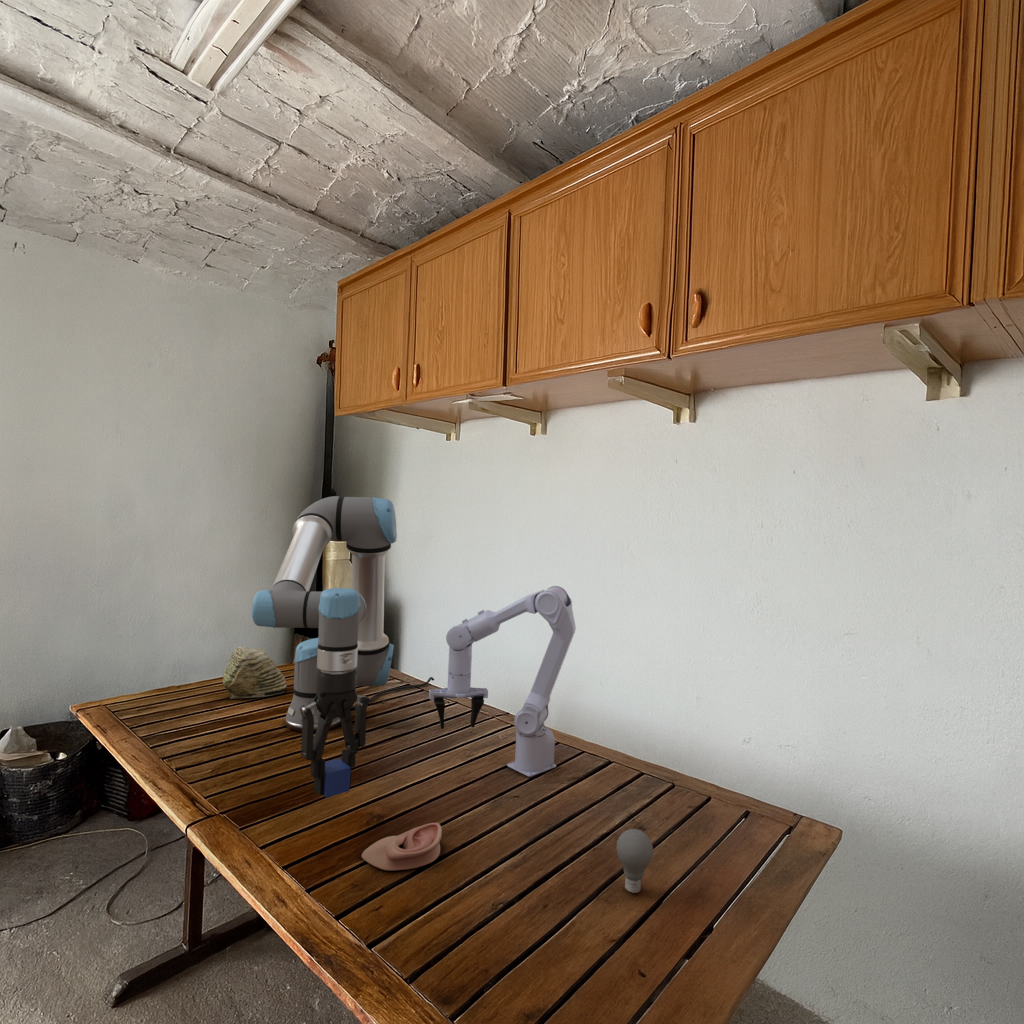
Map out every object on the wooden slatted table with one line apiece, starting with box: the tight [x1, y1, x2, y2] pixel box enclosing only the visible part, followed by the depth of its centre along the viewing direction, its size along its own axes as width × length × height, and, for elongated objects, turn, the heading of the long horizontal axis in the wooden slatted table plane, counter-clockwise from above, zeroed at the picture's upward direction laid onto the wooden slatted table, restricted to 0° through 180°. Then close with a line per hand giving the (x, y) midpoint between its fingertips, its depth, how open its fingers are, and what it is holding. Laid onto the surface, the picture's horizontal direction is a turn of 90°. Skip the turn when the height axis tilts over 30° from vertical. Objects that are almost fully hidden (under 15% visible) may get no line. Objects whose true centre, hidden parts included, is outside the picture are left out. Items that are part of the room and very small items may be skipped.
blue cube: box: [323, 758, 351, 799], centre depth 123 cm, size 5×5×5 cm
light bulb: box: [615, 828, 654, 894], centre depth 106 cm, size 6×6×10 cm
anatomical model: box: [361, 822, 443, 872], centre depth 114 cm, size 13×4×12 cm
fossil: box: [222, 646, 288, 699], centre depth 198 cm, size 9×18×15 cm, turn 132°
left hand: (332, 788), depth 123 cm, fingers closed on blue cube, 5 cm apart
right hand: (457, 726), depth 158 cm, fingers open, 7 cm apart
